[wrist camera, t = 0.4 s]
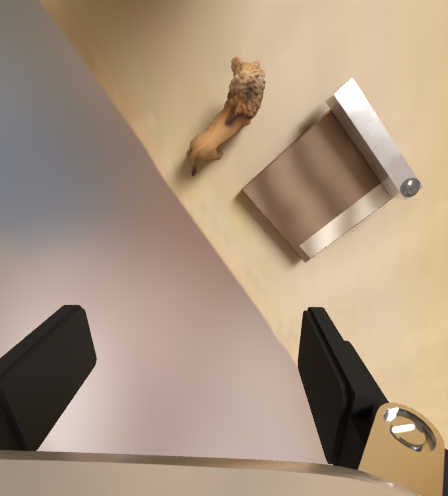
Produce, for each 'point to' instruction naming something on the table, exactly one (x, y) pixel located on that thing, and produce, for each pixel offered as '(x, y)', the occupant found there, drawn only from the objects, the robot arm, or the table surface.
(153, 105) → the table surface
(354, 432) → the robot arm
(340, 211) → the stool seat
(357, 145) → the folding leg
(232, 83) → the lion figurine
